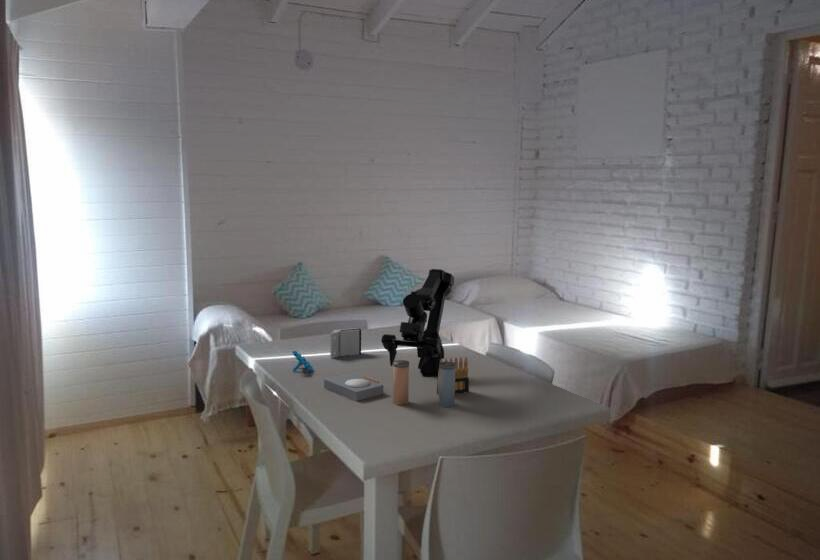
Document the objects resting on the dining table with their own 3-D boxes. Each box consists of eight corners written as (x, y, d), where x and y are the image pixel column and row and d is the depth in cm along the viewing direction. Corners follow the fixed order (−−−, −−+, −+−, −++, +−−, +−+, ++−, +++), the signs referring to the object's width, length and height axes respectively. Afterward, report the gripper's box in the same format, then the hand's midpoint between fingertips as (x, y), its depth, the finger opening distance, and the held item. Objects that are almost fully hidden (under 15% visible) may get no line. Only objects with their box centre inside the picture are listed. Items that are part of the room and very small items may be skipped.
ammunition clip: (438, 395, 216) (439, 359, 214) (436, 393, 218) (437, 358, 216) (468, 392, 220) (469, 356, 218) (466, 390, 221) (467, 355, 219)
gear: (313, 370, 236) (293, 350, 236) (301, 382, 236) (281, 362, 235) (316, 366, 247) (296, 347, 247) (304, 377, 247) (285, 358, 246)
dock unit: (352, 381, 230) (352, 371, 229) (384, 393, 217) (384, 382, 216) (324, 387, 222) (324, 377, 222) (356, 401, 209) (356, 390, 209)
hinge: (331, 359, 258) (331, 333, 257) (325, 356, 263) (324, 331, 261) (362, 354, 266) (362, 329, 264) (356, 351, 270) (356, 327, 269)
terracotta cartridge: (407, 399, 211) (408, 359, 209) (409, 405, 206) (410, 364, 204) (392, 400, 211) (392, 360, 209) (393, 405, 206) (393, 364, 204)
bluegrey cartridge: (453, 401, 210) (454, 361, 208) (456, 407, 205) (457, 365, 203) (437, 402, 209) (438, 361, 207) (440, 407, 204) (440, 366, 203)
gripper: (383, 309, 216) (370, 350, 207) (439, 313, 210) (428, 356, 201) (391, 328, 224) (379, 369, 216) (445, 333, 219) (435, 374, 210)
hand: (404, 366), depth 210 cm, fingers open, 9 cm apart
